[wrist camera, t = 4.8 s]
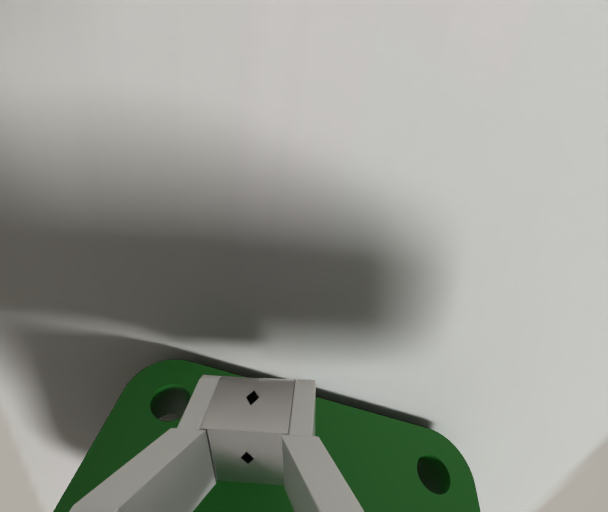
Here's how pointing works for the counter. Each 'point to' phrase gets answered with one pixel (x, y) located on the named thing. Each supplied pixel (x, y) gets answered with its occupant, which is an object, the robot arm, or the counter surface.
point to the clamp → (328, 427)
